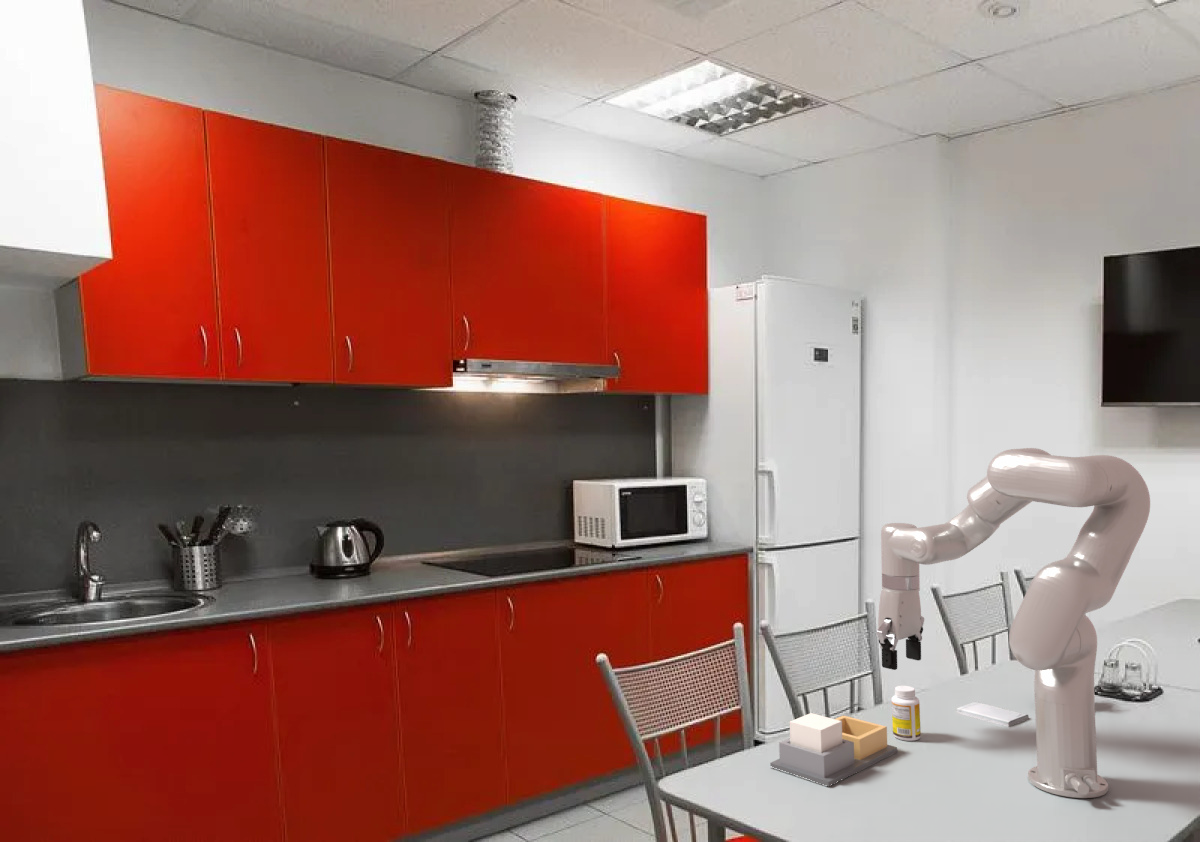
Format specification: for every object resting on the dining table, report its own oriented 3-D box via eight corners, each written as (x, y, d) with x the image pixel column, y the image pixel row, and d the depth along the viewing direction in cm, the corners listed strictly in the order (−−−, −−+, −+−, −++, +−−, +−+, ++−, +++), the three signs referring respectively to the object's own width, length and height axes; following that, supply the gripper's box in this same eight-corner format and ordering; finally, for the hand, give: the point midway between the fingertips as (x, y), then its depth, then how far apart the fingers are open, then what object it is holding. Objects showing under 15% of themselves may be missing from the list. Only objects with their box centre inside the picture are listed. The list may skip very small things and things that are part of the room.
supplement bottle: (913, 731, 183) (911, 683, 183) (925, 741, 178) (923, 691, 178) (888, 733, 183) (886, 685, 183) (899, 742, 177) (898, 692, 177)
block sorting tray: (840, 736, 182) (839, 693, 182) (897, 752, 172) (895, 707, 172) (770, 768, 166) (768, 721, 166) (828, 787, 156) (826, 737, 156)
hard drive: (1028, 714, 189) (976, 700, 199) (1008, 721, 185) (955, 707, 195) (1028, 721, 189) (976, 707, 199) (1008, 729, 185) (955, 715, 195)
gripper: (905, 574, 189) (906, 652, 190) (862, 585, 178) (863, 668, 178) (937, 579, 184) (938, 659, 184) (895, 590, 172) (896, 676, 172)
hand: (901, 663), depth 181 cm, fingers open, 9 cm apart
